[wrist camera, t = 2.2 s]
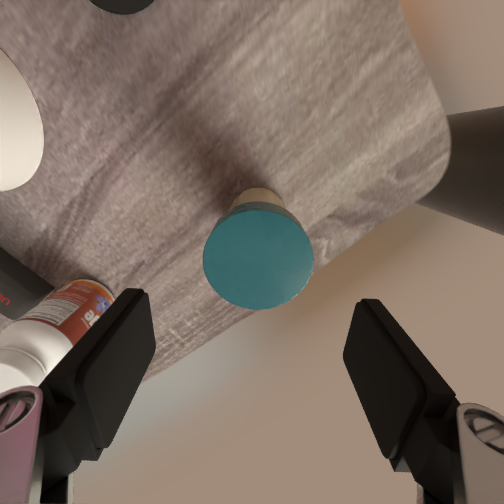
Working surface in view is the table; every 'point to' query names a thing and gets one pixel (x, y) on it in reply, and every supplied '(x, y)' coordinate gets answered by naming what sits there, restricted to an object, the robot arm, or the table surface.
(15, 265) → the usb drive
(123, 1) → the coaster
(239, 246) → the jar lid
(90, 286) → the pill bottle
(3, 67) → the canister
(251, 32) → the table surface
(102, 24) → the table surface
